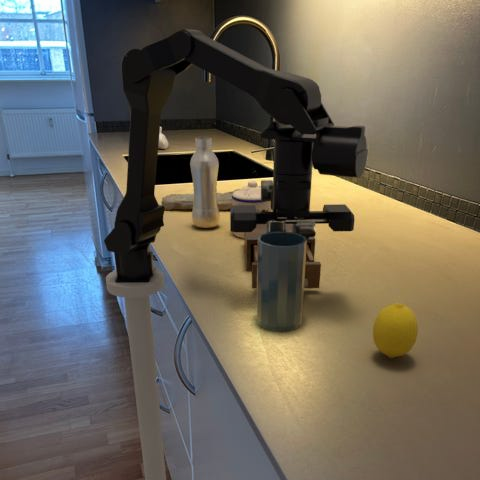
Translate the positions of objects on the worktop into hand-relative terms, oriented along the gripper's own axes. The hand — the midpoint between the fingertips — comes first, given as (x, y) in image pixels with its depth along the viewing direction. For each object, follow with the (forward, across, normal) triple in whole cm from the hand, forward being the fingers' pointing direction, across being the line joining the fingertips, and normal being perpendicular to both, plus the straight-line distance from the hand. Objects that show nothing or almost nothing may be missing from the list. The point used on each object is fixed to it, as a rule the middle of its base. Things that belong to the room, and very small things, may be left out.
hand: (288, 269), depth 83 cm
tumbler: (+5, +2, +8) cm, 10 cm away
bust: (+5, +40, -160) cm, 165 cm away
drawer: (+4, 0, -7) cm, 8 cm away
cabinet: (+5, 0, -20) cm, 20 cm away
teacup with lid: (+5, +3, -36) cm, 36 cm away
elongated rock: (+5, +10, -59) cm, 60 cm away
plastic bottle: (+5, +15, -41) cm, 44 cm away
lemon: (+5, -12, +19) cm, 23 cm away
